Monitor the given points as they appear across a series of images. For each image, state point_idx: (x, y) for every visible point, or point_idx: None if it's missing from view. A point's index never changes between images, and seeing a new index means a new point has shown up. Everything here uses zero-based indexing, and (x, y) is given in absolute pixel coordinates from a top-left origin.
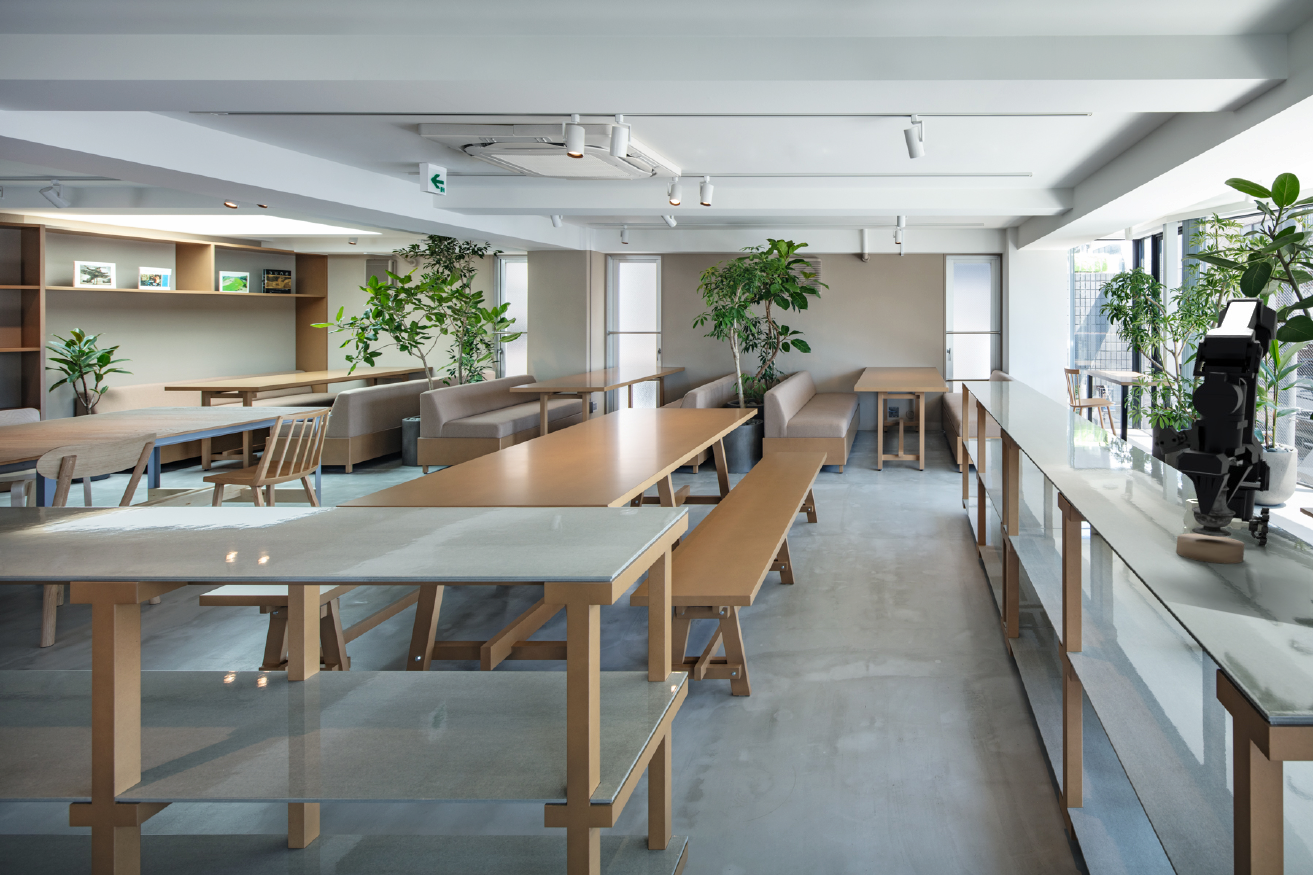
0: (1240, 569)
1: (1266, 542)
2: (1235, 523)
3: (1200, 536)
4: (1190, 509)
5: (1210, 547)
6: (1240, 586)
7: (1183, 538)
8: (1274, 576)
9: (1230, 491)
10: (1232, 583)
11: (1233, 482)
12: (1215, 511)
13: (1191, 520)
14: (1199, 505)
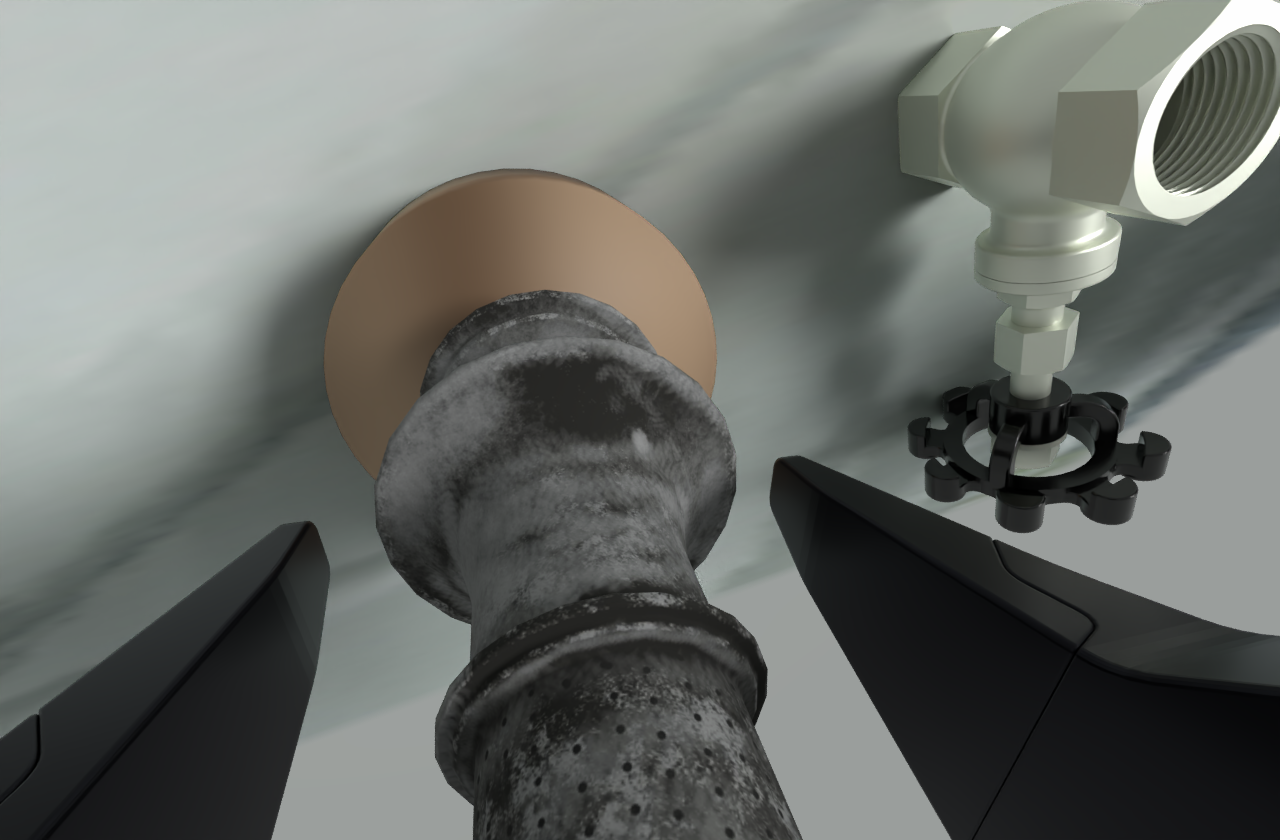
0: (379, 536)
1: (910, 450)
2: (1014, 346)
3: (607, 300)
4: (1086, 75)
5: (356, 451)
6: (36, 662)
7: (425, 251)
8: (397, 637)
9: (859, 644)
10: (46, 628)
11: (933, 752)
12: (450, 580)
13: (983, 103)
14: (210, 585)
